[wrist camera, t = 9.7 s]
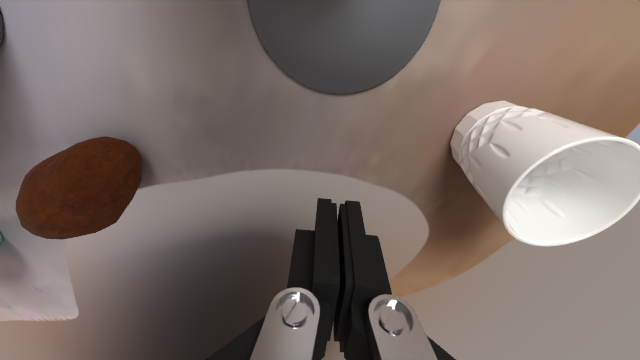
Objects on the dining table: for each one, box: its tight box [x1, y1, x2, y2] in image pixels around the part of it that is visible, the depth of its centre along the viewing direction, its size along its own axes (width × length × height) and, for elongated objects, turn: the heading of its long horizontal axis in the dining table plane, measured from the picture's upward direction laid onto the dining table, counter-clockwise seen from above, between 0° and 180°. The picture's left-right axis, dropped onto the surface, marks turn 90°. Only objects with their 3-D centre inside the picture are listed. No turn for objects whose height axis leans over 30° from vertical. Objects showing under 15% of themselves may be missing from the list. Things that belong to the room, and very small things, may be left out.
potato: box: [16, 137, 142, 239], centre depth 24 cm, size 8×12×8 cm, turn 128°
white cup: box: [450, 101, 640, 246], centre depth 20 cm, size 8×8×10 cm
